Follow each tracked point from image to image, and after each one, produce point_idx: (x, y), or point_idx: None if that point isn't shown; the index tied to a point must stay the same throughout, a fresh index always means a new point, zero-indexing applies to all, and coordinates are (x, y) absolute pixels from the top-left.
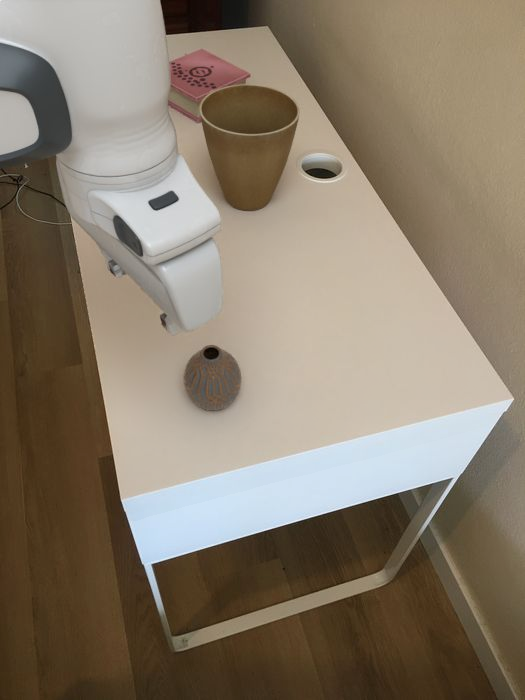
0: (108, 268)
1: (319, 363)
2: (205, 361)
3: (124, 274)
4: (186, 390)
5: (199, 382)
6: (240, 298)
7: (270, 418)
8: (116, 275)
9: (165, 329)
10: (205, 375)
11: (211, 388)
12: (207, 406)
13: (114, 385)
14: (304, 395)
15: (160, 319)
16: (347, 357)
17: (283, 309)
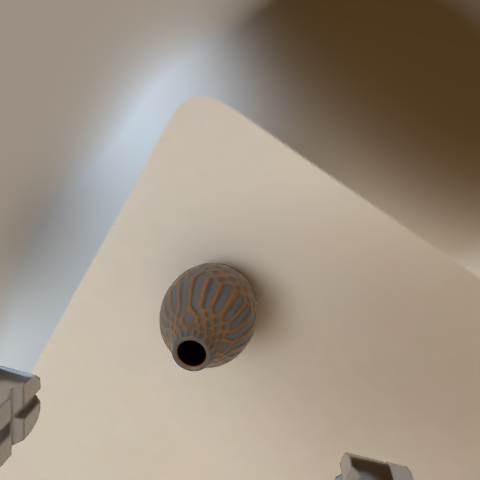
0: (404, 477)
1: (148, 413)
2: (186, 334)
3: (338, 476)
4: (227, 272)
5: (191, 294)
6: (314, 448)
7: (133, 309)
8: (348, 464)
9: (4, 371)
10: (184, 311)
11: (172, 297)
12: (187, 270)
13: (359, 210)
14: (127, 363)
15: (6, 399)
16: (128, 438)
17: (248, 461)
